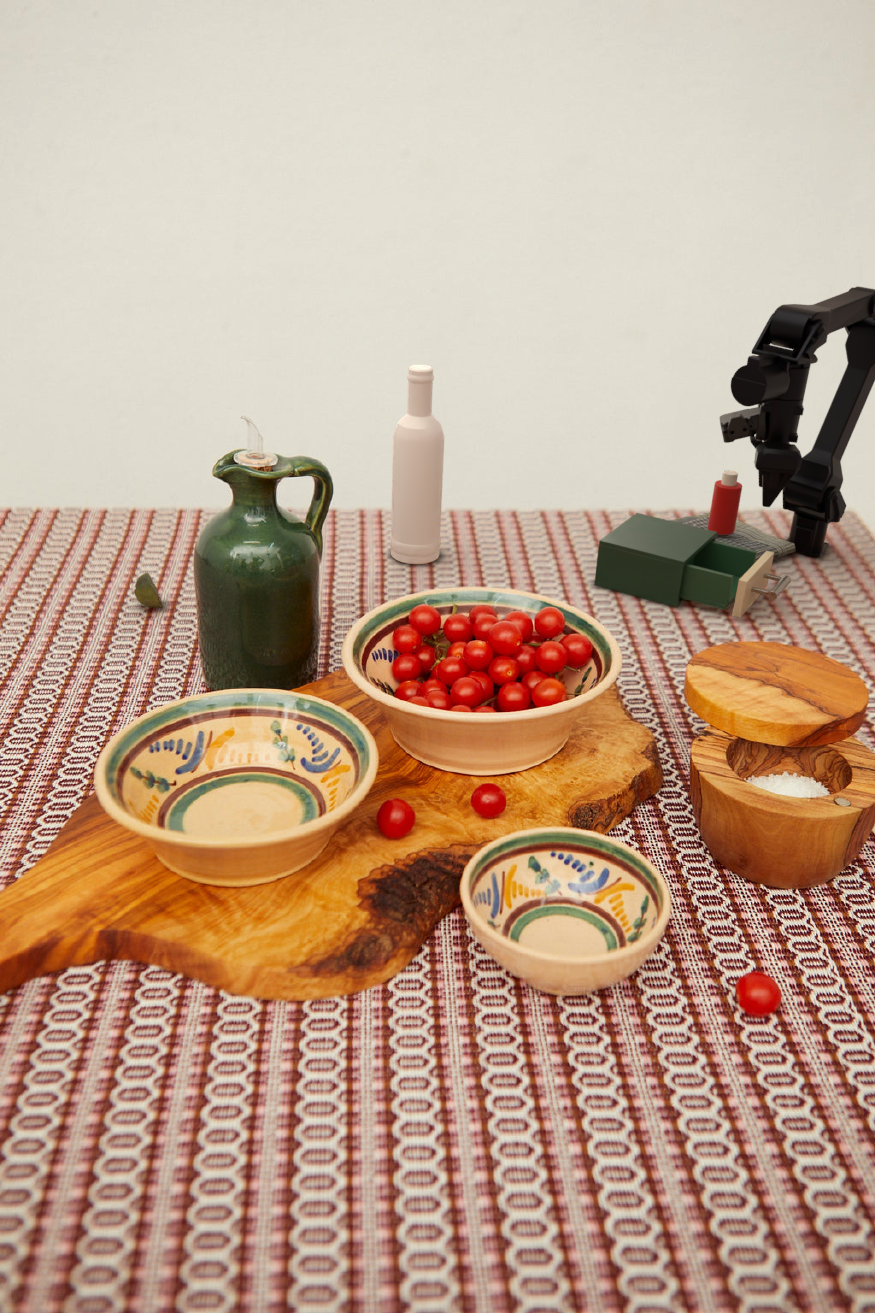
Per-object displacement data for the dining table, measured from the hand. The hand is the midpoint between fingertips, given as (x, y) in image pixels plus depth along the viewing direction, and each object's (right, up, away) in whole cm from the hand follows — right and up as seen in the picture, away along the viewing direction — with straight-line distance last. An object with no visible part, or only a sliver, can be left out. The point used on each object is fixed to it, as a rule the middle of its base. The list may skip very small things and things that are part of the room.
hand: (764, 496), depth 168 cm
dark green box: (-17, -13, +2) cm, 21 cm away
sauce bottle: (-3, -4, +14) cm, 15 cm away
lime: (-91, -18, -13) cm, 93 cm away
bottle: (-54, -9, +7) cm, 55 cm away
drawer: (-7, -15, -4) cm, 17 cm away
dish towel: (-3, -6, +15) cm, 17 cm away
